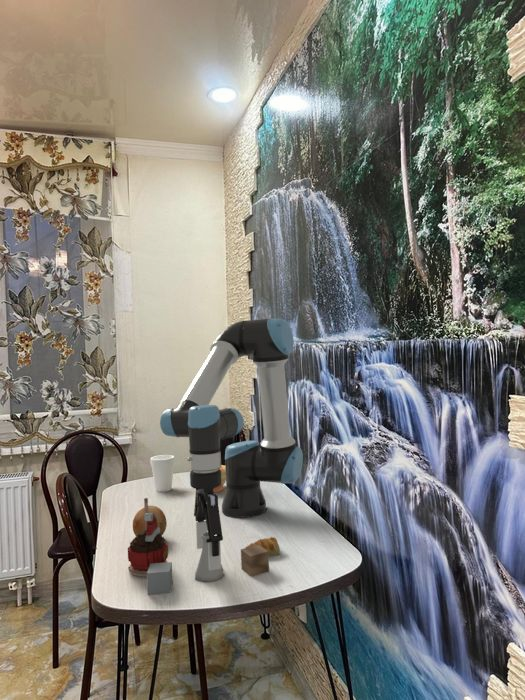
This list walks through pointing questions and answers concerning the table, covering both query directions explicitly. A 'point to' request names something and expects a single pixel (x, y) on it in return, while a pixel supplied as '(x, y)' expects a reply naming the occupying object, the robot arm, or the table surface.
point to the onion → (140, 522)
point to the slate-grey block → (159, 578)
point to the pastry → (268, 545)
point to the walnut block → (254, 560)
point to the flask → (206, 564)
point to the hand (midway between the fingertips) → (208, 557)
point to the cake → (147, 546)
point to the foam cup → (162, 472)
